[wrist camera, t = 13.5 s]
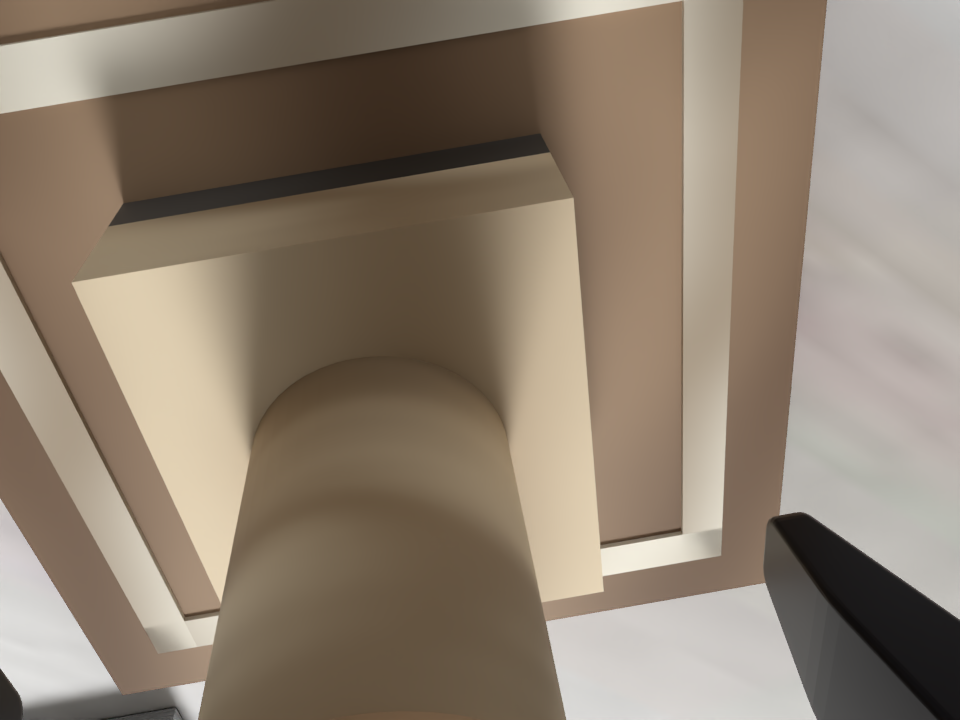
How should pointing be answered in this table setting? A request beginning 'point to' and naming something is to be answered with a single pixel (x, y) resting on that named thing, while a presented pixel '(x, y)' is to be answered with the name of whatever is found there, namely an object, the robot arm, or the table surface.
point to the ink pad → (154, 715)
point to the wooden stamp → (367, 425)
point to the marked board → (396, 133)
